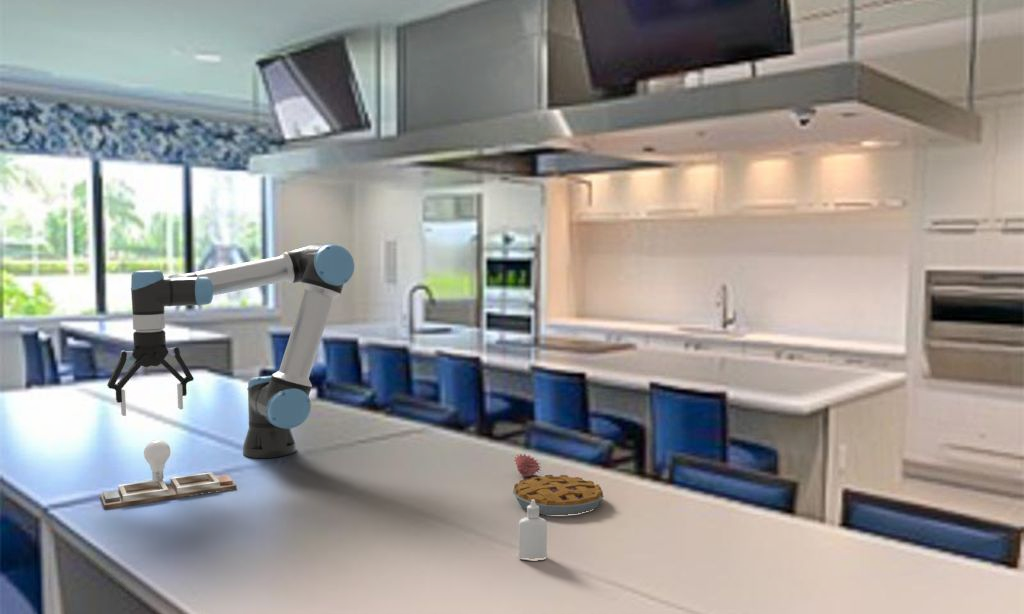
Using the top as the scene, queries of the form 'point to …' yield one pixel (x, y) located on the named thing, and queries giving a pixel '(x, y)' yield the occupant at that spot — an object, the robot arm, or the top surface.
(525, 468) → the flower
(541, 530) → the eye dropper bottle
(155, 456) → the lightbulb
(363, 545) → the top surface
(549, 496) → the pie
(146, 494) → the socket board
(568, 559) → the top surface
